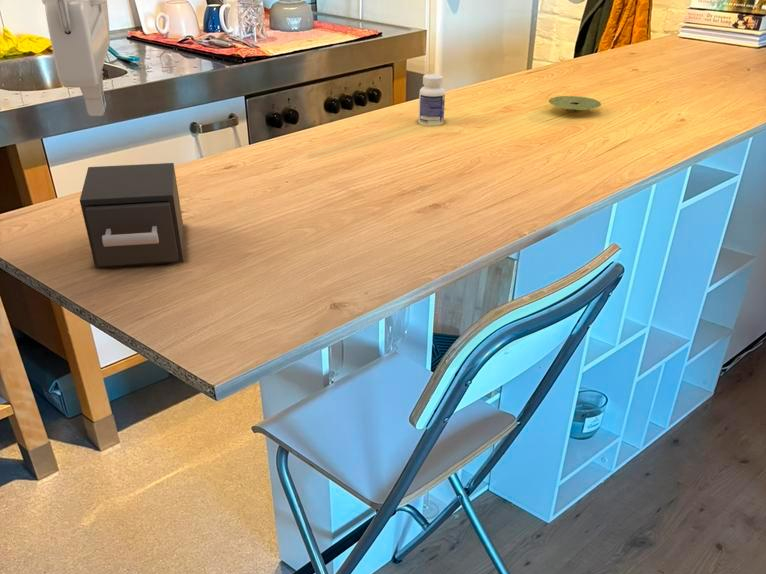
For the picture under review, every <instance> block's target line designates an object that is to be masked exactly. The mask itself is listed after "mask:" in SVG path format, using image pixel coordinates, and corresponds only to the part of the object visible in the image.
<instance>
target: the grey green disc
mask: <svg viewBox="0 0 766 574" xmlns="http://www.w3.org/2000/svg"><path fill="white" fill-rule="evenodd" d="M548 103H549V104H550V105H552V106H554V107H557V108H560V109H566V110H567V109H568V111H569V113H574V112H576V111H582V110H583V111H585V110H587V111H588V110H594V109H597V108H598V109H599V107H601V106H602V103H601V102H600V101H599V100H597V99H594V98H591V97H586V96H579V95H578V96H576V95H561V96H560V95H558V96H554V97H551V98H550V99H548Z"/></svg>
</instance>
